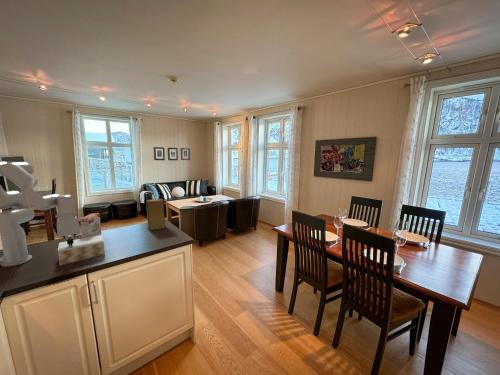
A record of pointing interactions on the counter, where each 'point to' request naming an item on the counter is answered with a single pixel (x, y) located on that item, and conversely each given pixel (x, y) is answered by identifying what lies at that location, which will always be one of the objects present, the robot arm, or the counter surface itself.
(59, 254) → the storage box
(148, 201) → the food packaging
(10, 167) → the robot arm
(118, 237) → the counter surface
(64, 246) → the lid
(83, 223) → the cracker box
